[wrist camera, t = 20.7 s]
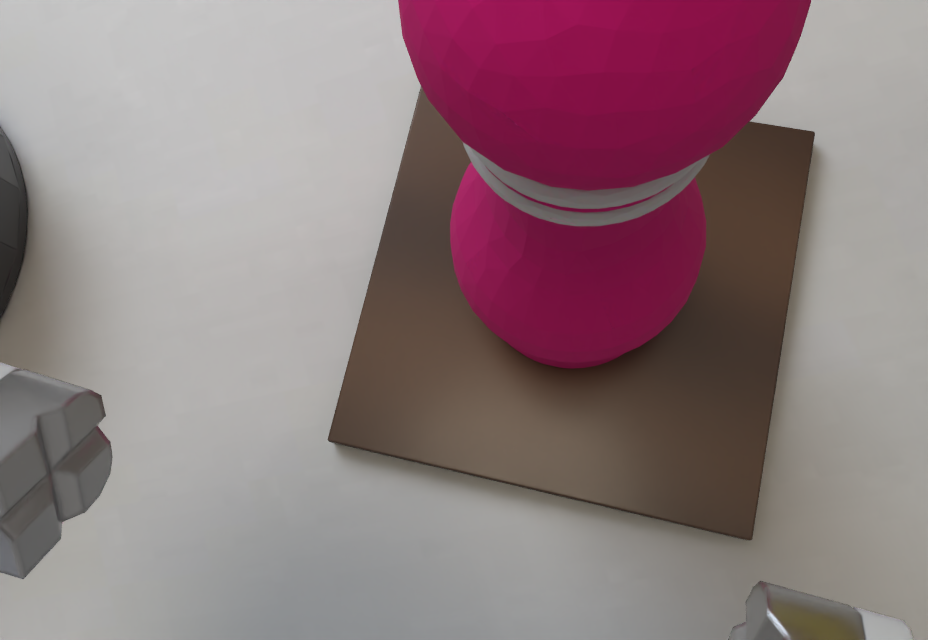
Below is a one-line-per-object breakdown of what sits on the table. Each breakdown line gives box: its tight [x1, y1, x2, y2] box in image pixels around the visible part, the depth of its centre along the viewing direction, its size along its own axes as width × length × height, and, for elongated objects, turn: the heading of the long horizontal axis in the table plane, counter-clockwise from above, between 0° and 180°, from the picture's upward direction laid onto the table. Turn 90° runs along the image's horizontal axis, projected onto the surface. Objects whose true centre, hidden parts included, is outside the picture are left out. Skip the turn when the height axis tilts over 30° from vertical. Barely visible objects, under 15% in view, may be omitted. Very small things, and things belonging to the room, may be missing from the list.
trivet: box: [328, 86, 815, 540], centre depth 28 cm, size 14×14×1 cm
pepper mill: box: [398, 0, 811, 368], centre depth 18 cm, size 7×7×20 cm
